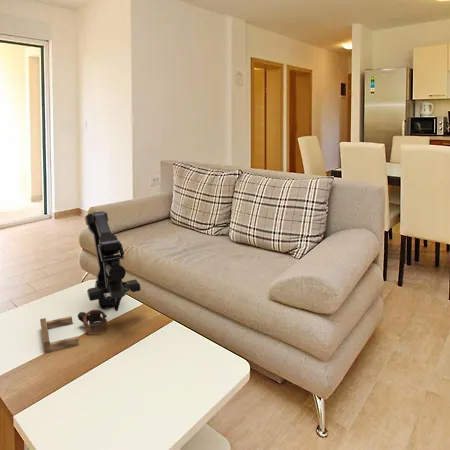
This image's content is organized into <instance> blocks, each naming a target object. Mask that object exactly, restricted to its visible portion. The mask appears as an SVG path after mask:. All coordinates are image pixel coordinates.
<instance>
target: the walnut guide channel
mask: <svg viewBox="0 0 450 450" xmlns="http://www.w3.org/2000/svg"><path fill="white" fill-rule="evenodd" d="M39 321H40V329H41V335H42V336H41V337H42V343H43V348H44V349H43V350H44V354H47V353H50V352H55V351H58V350H62V349H66V348H67V349H68V348H70V347H75V346H78V345H79V344H80V343H79V337H78V335H77V336H72V337H68V338H64V339H61V340H56V341H52V342H50V336H49V330H52V329H55V328H60V327H64V326H68V325H72V324H74V323H73V318H72V316H71V315H70V316H65V317H61V318H56V319H52V320H48V321H47V318H46V317H44V318H40V319H39Z"/></svg>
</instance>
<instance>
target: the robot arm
mask: <svg viewBox="0 0 450 450" xmlns="http://www.w3.org/2000/svg"><path fill="white" fill-rule="evenodd" d="M108 216H109V214H108V212H106V211H101V210H100V211H95V212H90V213H88V214H87V215H85V217H84V220H85V225H86V226H87V228H88V231H89V232H90V233H91V234H92V235H93V241H94V247H95V253H96V259H97V264H98V272H97V274H96V277H95V278H96V280H95V283H94V284H95V285H94V287H89V288H88V289H87V291H86V292H87V297H88V299H89V301H90V302H92V301H98V305H99V307H100V308H101V310H105V309H108V308H113V309H114V311H115V312H118V310H119V307H120V303H121V300H122V298H123V297H126V295H127V294H126V293H128V292H130V291H131V293H135V292H140V291H141V288H142V287H141V284H140V282H139V281H138V280H137V279H131V280H127V281H123V280H124V278H125V277H126V274H127V273H126V272H127V271H126V269H125V268H124V266H123V265H122V263H121V260H123V259H125V258H124V256H125V251H124V249H123V244H122V243H121V241H120V240H119V239H118V236H117V235H115V234H113V233H112V231H111V228H110V226H109V217H108Z"/></svg>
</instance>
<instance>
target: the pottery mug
mask: <svg viewBox="0 0 450 450" xmlns="http://www.w3.org/2000/svg"><path fill="white" fill-rule="evenodd" d="M107 317H108V316H107V314H105V313H104V311H102V310H100V309H91V310H89V311H87V312H84V311H83V312H82V311H80V312H79V313H78V314H77V318H78V320H79V321H80V322H81V323H82V324H83V326H84V327H85V328H86V329H85V333H86V334H88V335H90V334H92V333H93V332H96V331H99V330H102V328H104V327H105V325H106V324H107V323H108V320H107V319H106V318H107ZM94 323H95V324H94Z"/></svg>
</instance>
